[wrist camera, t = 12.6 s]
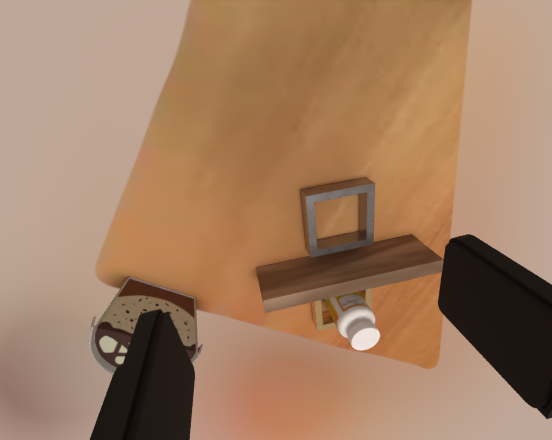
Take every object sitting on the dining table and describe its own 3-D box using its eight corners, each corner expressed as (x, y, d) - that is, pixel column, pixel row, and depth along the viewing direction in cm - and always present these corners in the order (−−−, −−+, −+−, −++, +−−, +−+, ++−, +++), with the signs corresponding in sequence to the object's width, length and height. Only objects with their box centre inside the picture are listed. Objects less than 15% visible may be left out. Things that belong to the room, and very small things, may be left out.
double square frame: (300, 189, 37) (305, 196, 35) (365, 177, 38) (375, 183, 36) (312, 319, 48) (317, 331, 45) (364, 307, 49) (371, 318, 46)
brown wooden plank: (255, 267, 41) (262, 300, 35) (411, 234, 44) (443, 259, 37) (258, 278, 42) (265, 313, 36) (410, 245, 45) (441, 272, 38)
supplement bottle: (339, 309, 48) (366, 359, 39) (315, 297, 46) (337, 347, 37) (360, 285, 46) (393, 331, 38) (336, 272, 44) (364, 318, 36)
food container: (101, 306, 39) (67, 372, 30) (117, 272, 38) (86, 331, 29) (187, 330, 44) (179, 393, 35) (205, 300, 42) (201, 359, 33)
